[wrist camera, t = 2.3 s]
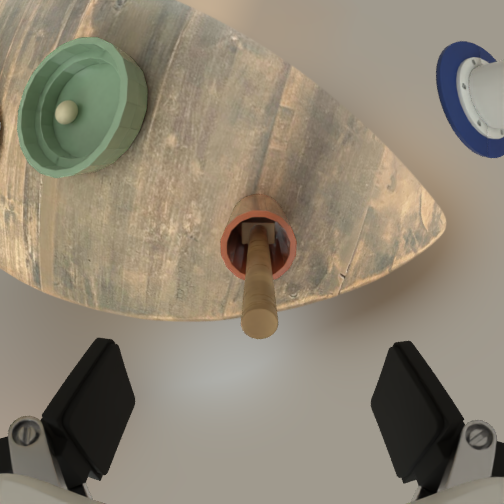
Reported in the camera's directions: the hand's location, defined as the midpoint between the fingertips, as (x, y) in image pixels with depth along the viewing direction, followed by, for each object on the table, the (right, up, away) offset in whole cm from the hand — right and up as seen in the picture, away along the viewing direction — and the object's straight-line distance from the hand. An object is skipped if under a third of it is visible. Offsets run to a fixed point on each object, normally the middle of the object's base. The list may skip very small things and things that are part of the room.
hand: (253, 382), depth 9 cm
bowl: (-19, +21, +19) cm, 34 cm away
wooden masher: (+1, +8, +22) cm, 23 cm away
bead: (-22, +21, +17) cm, 34 cm away
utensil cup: (+1, +8, +23) cm, 24 cm away
